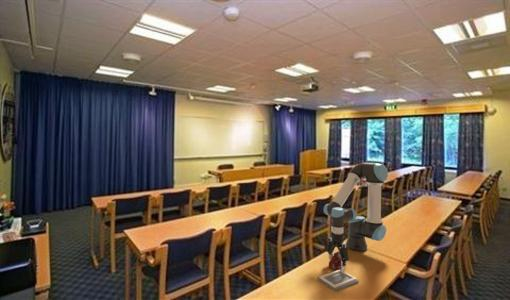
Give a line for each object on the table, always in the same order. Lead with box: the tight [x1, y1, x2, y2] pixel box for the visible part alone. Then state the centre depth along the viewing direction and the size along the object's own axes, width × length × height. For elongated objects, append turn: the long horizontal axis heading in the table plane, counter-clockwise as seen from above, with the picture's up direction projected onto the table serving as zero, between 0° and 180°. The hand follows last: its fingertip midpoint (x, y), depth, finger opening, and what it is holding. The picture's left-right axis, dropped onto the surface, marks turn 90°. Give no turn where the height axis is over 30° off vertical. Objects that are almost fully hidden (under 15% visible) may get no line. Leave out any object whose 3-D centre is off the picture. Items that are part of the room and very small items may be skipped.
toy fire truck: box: [328, 250, 342, 271], centre depth 172 cm, size 7×12×10 cm, turn 128°
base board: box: [317, 269, 359, 292], centre depth 156 cm, size 18×14×2 cm
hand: (336, 267), depth 172 cm, fingers open, 9 cm apart
